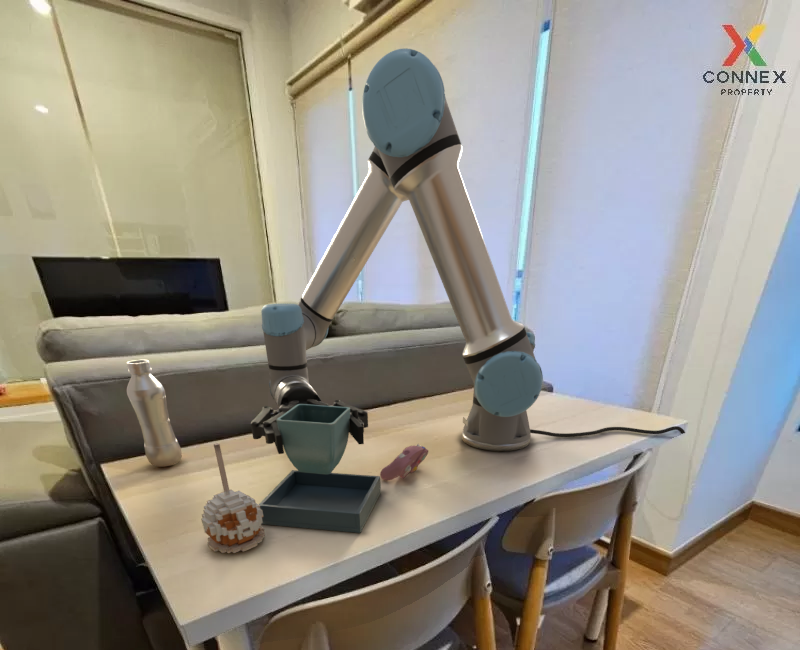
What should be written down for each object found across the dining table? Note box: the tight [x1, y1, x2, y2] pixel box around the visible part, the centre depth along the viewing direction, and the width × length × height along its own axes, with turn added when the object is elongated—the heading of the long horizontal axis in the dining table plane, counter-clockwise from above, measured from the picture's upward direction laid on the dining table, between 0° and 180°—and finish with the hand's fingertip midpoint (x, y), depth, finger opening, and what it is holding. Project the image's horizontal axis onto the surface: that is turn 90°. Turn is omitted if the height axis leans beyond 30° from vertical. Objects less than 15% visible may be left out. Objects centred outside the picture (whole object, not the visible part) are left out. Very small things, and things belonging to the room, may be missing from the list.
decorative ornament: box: [200, 443, 266, 554], centre depth 64 cm, size 8×8×15 cm
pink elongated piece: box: [379, 443, 429, 481], centre depth 87 cm, size 10×5×7 cm, turn 148°
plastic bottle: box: [126, 359, 183, 468], centre depth 89 cm, size 6×7×20 cm
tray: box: [258, 469, 382, 534], centre depth 76 cm, size 16×14×3 cm
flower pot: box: [276, 404, 350, 474], centre depth 71 cm, size 9×9×9 cm
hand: (321, 440), depth 67 cm, fingers closed on flower pot, 11 cm apart
